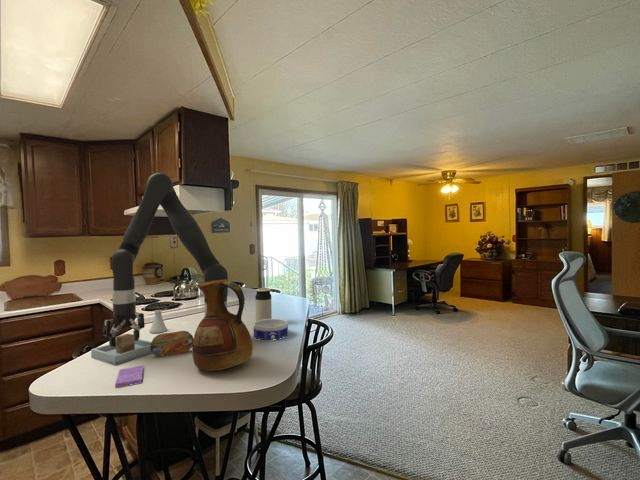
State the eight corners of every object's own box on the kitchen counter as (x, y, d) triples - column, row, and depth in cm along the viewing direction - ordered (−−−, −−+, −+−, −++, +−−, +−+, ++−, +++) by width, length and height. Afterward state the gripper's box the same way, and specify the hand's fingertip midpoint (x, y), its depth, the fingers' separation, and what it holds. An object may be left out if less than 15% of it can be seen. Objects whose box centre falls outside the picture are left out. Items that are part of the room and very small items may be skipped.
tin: (150, 358, 119) (150, 336, 119) (150, 356, 122) (150, 333, 122) (194, 351, 126) (193, 330, 126) (193, 349, 129) (192, 328, 129)
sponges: (115, 389, 96) (114, 383, 96) (119, 374, 107) (119, 368, 107) (141, 384, 99) (141, 378, 99) (143, 369, 110) (143, 364, 110)
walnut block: (134, 350, 125) (134, 335, 125) (122, 354, 121) (122, 338, 121) (127, 348, 128) (127, 333, 127) (116, 352, 124) (115, 336, 124)
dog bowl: (284, 329, 156) (284, 317, 156) (291, 339, 141) (291, 325, 141) (252, 333, 151) (251, 320, 151) (255, 343, 136) (255, 328, 136)
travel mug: (274, 323, 166) (274, 288, 166) (264, 327, 159) (263, 290, 159) (263, 321, 170) (262, 287, 170) (252, 325, 163) (252, 289, 163)
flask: (146, 332, 153) (146, 311, 152) (159, 328, 159) (158, 308, 159) (157, 334, 150) (157, 312, 150) (170, 330, 157) (169, 309, 156)
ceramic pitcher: (205, 355, 122) (204, 276, 122) (258, 355, 122) (257, 275, 121) (181, 377, 103) (180, 283, 102) (244, 377, 102) (243, 282, 102)
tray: (157, 351, 127) (157, 343, 127) (114, 365, 113) (114, 356, 113) (133, 344, 135) (133, 337, 135) (91, 357, 121) (91, 349, 121)
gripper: (109, 305, 116) (110, 350, 116) (148, 299, 129) (148, 339, 129) (98, 303, 120) (99, 347, 120) (136, 297, 132) (137, 337, 132)
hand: (125, 343), depth 124 cm, fingers open, 8 cm apart
